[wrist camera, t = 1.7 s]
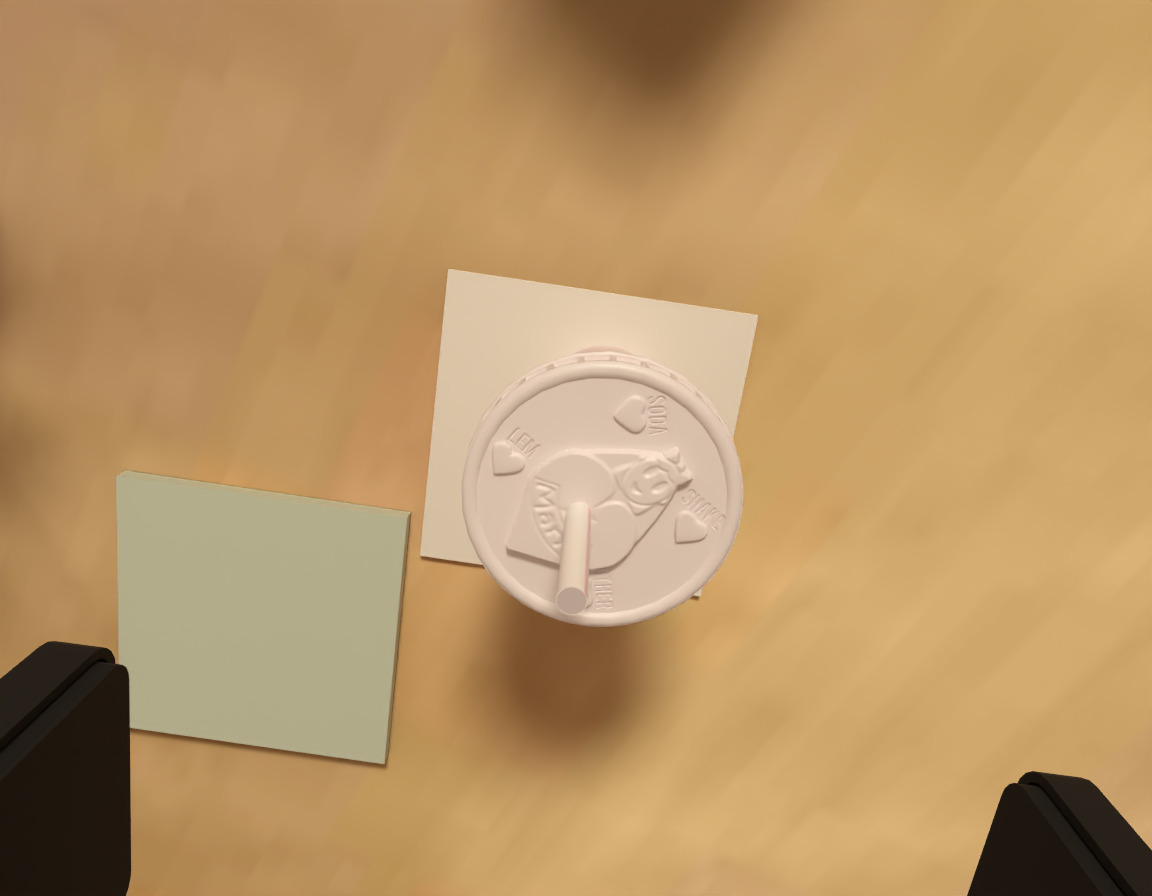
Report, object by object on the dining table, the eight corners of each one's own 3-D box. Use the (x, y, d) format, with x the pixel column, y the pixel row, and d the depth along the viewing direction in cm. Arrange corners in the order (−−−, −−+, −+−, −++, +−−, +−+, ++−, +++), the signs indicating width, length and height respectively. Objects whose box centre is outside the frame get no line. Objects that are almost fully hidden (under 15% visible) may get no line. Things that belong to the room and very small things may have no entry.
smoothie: (471, 357, 28) (345, 508, 14) (647, 267, 27) (692, 338, 13) (560, 522, 29) (523, 797, 16) (731, 442, 28) (846, 664, 15)
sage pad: (410, 512, 30) (407, 518, 29) (388, 753, 32) (384, 764, 32) (125, 470, 29) (116, 475, 29) (128, 716, 32) (119, 726, 32)
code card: (757, 314, 27) (758, 315, 27) (700, 593, 30) (700, 596, 30) (449, 268, 27) (448, 269, 27) (421, 553, 30) (419, 556, 30)
